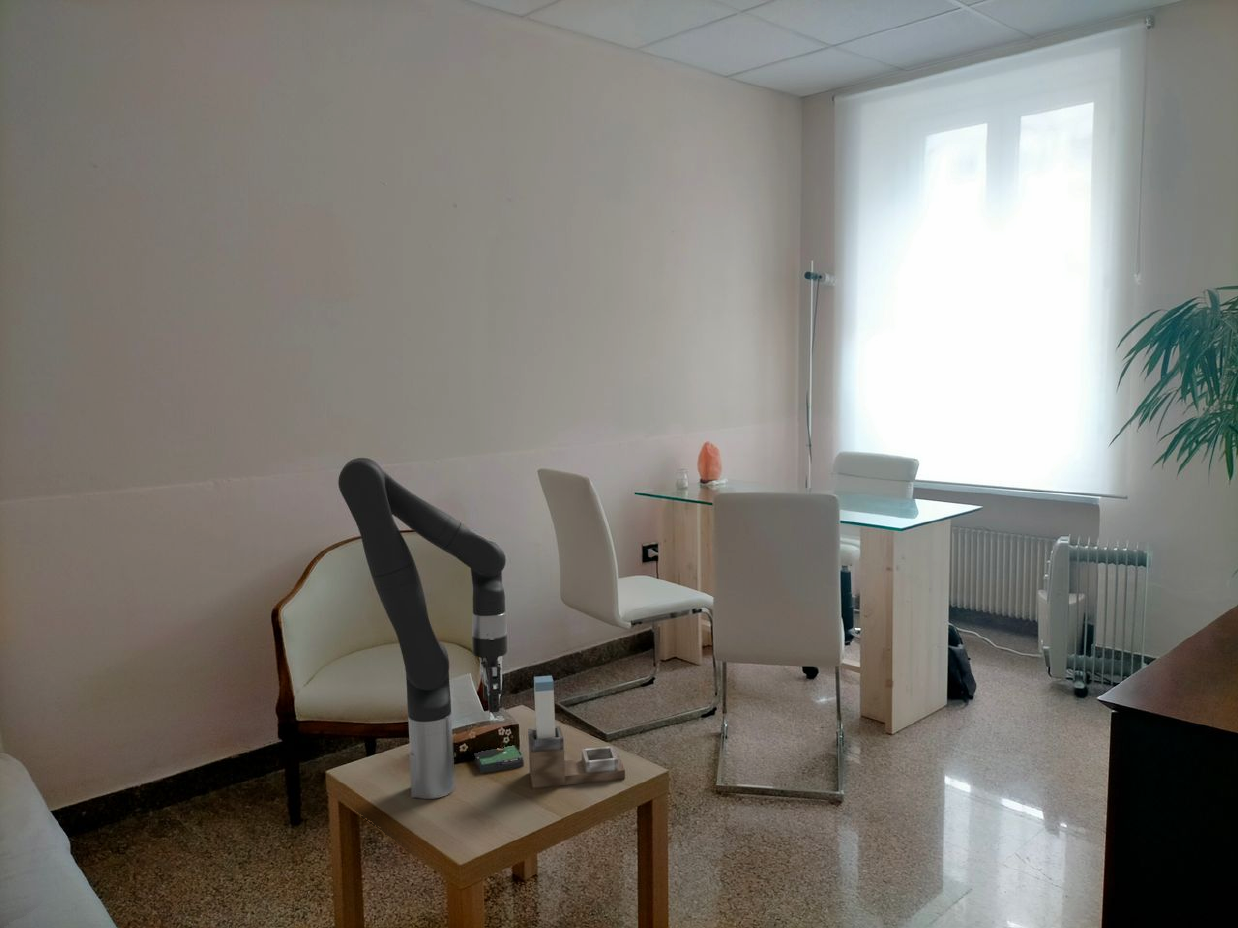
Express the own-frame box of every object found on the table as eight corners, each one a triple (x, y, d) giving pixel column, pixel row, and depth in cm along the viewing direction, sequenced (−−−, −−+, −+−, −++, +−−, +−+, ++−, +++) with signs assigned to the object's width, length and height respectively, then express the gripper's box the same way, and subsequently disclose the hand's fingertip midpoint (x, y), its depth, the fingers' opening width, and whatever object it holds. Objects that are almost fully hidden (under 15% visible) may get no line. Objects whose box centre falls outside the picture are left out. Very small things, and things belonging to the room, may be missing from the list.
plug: (537, 748, 206) (535, 682, 205) (536, 741, 210) (533, 676, 209) (555, 746, 207) (553, 681, 205) (554, 739, 211) (551, 675, 209)
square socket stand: (532, 787, 205) (530, 741, 204) (529, 772, 213) (528, 727, 212) (625, 778, 208) (623, 733, 207) (619, 763, 216) (617, 719, 215)
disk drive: (467, 752, 227) (481, 775, 213) (466, 741, 226) (480, 764, 212) (508, 745, 230) (525, 767, 216) (508, 734, 230) (524, 756, 216)
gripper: (468, 626, 210) (470, 697, 211) (476, 642, 197) (478, 717, 198) (501, 624, 212) (503, 694, 213) (511, 639, 199) (513, 714, 200)
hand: (491, 705), depth 205 cm, fingers open, 8 cm apart
